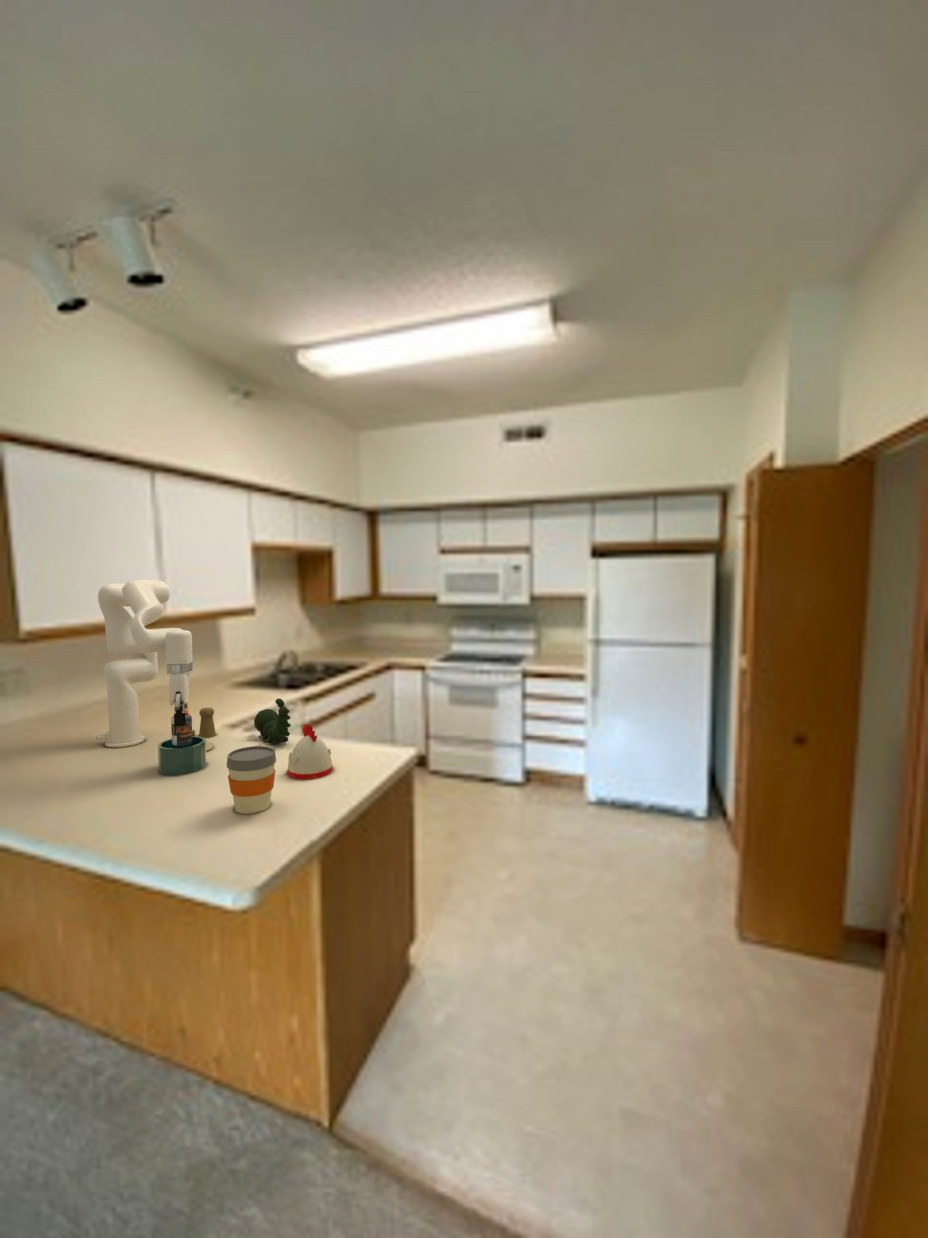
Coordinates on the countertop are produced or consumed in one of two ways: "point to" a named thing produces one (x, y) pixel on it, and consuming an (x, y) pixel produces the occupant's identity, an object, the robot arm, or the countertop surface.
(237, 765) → the reusable coffee cup
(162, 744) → the tin
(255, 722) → the toy figurine
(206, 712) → the cork
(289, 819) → the countertop surface
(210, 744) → the lid
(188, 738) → the pill bottle
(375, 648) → the countertop surface
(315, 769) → the kitchen timer
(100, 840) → the countertop surface
